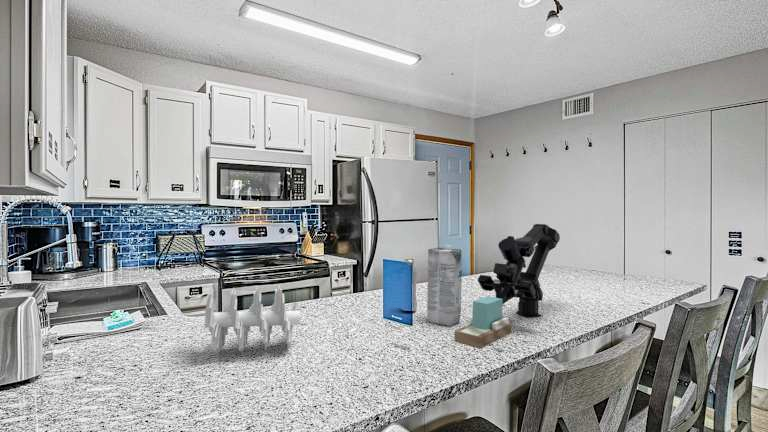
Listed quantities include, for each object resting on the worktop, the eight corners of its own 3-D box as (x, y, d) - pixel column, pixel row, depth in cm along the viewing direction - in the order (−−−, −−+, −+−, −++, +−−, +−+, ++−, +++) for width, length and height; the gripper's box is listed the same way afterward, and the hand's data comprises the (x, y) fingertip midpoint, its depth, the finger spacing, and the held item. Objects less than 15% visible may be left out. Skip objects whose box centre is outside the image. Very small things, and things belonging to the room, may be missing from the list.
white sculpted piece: (298, 364, 111) (200, 370, 103) (294, 321, 126) (209, 323, 118) (304, 313, 103) (200, 315, 96) (300, 273, 118) (209, 272, 111)
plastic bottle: (397, 312, 150) (397, 259, 150) (404, 308, 156) (405, 257, 156) (412, 314, 147) (413, 261, 147) (419, 310, 153) (420, 259, 153)
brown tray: (486, 326, 135) (487, 311, 134) (511, 332, 129) (511, 316, 128) (454, 340, 120) (454, 324, 120) (480, 348, 114) (481, 330, 114)
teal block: (487, 320, 131) (488, 296, 131) (501, 323, 128) (502, 298, 127) (472, 326, 124) (472, 301, 123) (486, 330, 120) (487, 304, 120)
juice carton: (451, 328, 132) (452, 247, 131) (424, 322, 138) (425, 244, 138) (463, 322, 139) (464, 245, 138) (437, 316, 146) (438, 243, 145)
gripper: (480, 251, 140) (463, 287, 132) (533, 257, 127) (517, 296, 120) (490, 271, 146) (475, 306, 138) (541, 278, 133) (527, 317, 126)
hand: (497, 306), depth 130 cm, fingers closed
